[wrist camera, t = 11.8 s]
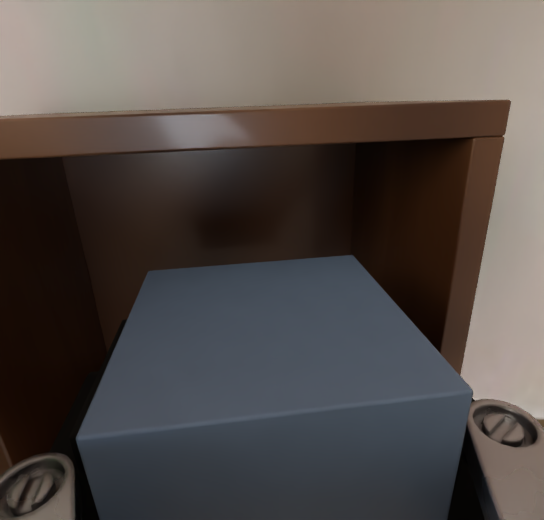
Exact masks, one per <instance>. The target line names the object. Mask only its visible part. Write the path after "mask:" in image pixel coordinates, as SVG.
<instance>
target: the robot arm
mask: <svg viewBox="0 0 544 520" xmlns="http://www.w3.org/2000/svg"><path fill="white" fill-rule="evenodd" d="M126 321H127V319H125V320H122V322H121V324H120V326H119V328H118V331H117V333H116V335H115V337H114V339H113V342H112V344H111V346H110V348H109V350H108V353H107V355H106V357H105V359H104V361H103V364H102V366H101V368H100V370H99V371H95V372H91V373H89V374H88V375H87V377H86V378H85V380H84V382H83V385H82V387H81V389H80V391H79V393H78V395H77V397H76V399H75V401H74V403H73V405H72V407H71V409H70V411H69V413H68V415H67V417H66V419H65V421H64V423H63V425H62V427H61V429H60V431H59V433H58V435H57V437H56V439H55V441H54V443H53V445H52V447H51V449H50V451H49V452H46V453H42V454H38V455H33V456H31V457H29V458H26V459H24V460H22V461H20V462H18V463H16V464H15V465H13V466H12V467H10V468H9V469H7V470H6V471H5V472H4V473H3V474H1V475H0V520H100V519H99V516H98V512H97V509H96V505H95V502H94V499H93V495H92V492H91V489H90V485H89V482H88V479H87V475H86V472H85V469H84V465H83V462H82V459H81V455H80V452H79V449H78V445H77V442H76V436H77V434H78V432H79V429H80V427H81V425H82V422H83V420H84V418H85V416H86V413H87V411H88V409H89V406H90V404H91V402H92V399H93V397H94V395H95V393H96V390H97V388H98V386H99V383H100V381H101V379H102V376H103V374H104V372H105V370H106V367H107V365H108V363H109V360H110V358H111V356H112V353H113V351H114V349H115V346H116V344H117V342H118V340H119V337H120V335H121V333H122V330H123V328H124V326H125V323H126ZM447 520H544V428H543V427H542V426H541V424H540V423H539V422H538V420H536V419H535V418H534V417H533V416H532V415H530V414H529V413H528V412H526V411H524V410H523V409H521V408H519V407H517V406H515V405H512V404H510V403H507V402H504V401H499V400H494V399H481V400H477V401H475V400H474V399H473V398H472V401H471V406H470V411H469V416H468V421H467V425H466V430H465V435H464V440H463V445H462V450H461V455H460V460H459V465H458V470H457V475H456V479H455V484H454V489H453V494H452V499H451V504H450V509H449V514H448V519H447Z"/></svg>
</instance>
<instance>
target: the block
mask: <svg viewBox="0 0 544 520" xmlns="http://www.w3.org/2000/svg"><path fill="white" fill-rule="evenodd" d="M472 396H473V391H472V389H471V388H470V386H469V385H468V384H467V383H466V382H465V381H464V380H463V379H462V377H461V376H460V375H459V374H458V373H457V372H456V371H455V370H454V368H453V367H452V366H451V365H450V364H449V363H448V362H447V361H446V359H445V358H444V357H443V356H442V355H441V354H440V353H439V352H438V350H437V349H436V348H435V347H434V346H433V345H432V344H431V343H430V341H429V340H428V339H427V338H426V337H425V336H424V335H423V334H422V332H421V331H420V330H419V329H418V328H417V327H416V326H415V325H414V323H413V322H412V321H411V320H410V319H409V318H408V317H407V315H406V314H405V313H404V312H403V311H402V310H401V309H400V308H399V306H398V305H397V304H396V303H395V302H394V301H393V300H392V299H391V297H390V296H389V295H388V294H387V293H386V292H385V291H384V290H383V288H382V287H381V286H380V285H379V284H378V283H377V282H376V281H375V279H374V278H373V277H372V276H371V275H370V274H369V273H368V272H367V270H366V269H365V268H364V267H363V266H362V265H361V264H360V263H359V261H358V260H357V259H356V258H355V257H354V256H353V255H345V256H333V257H320V258H307V259H294V260H282V261H269V262H256V263H243V264H231V265H218V266H205V267H192V268H180V269H167V270H154V271H148V273H147V275H146V277H145V280H144V282H143V284H142V287H141V289H140V291H139V294H138V296H137V298H136V300H135V303H134V305H133V307H132V310H131V312H130V314H129V317H128V319H127V321H126V323H125V326H124V328H123V330H122V333H121V335H120V337H119V340H118V342H117V344H116V346H115V349H114V351H113V353H112V356H111V358H110V360H109V363H108V365H107V367H106V370H105V372H104V374H103V376H102V379H101V381H100V383H99V386H98V388H97V390H96V393H95V395H94V397H93V399H92V402H91V404H90V406H89V409H88V411H87V413H86V416H85V418H84V420H83V422H82V425H81V427H80V429H79V432H78V434H77V436H76V442H77V445H78V449H79V452H80V455H81V459H82V462H83V465H84V469H85V472H86V475H87V479H88V482H89V485H90V489H91V492H92V495H93V499H94V502H95V505H96V509H97V512H98V516H99V519H100V520H447V519H448V514H449V509H450V504H451V499H452V494H453V489H454V484H455V479H456V475H457V470H458V465H459V460H460V455H461V450H462V445H463V440H464V435H465V430H466V425H467V421H468V416H469V411H470V406H471V401H472Z"/></svg>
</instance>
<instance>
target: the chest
mask: <svg viewBox="0 0 544 520" xmlns="http://www.w3.org/2000/svg"><path fill="white" fill-rule="evenodd" d="M510 104H511V101H510V100H457V101H396V102H353V103H326V104H299V105H272V106H244V107H217V108H190V109H163V110H136V111H108V112H81V113H54V114H31V115H12V116H0V475H1V474H3V473H4V472H5V471H6V470H7V469H9V468H10V467H12V466H13V465H15V464H16V463H18V462H20V461H22V460H24V459H26V458H29V457H31V456H33V455H38V454H42V453H46V452H49V451H50V449H51V447H52V445H53V443H54V441H55V439H56V437H57V435H58V433H59V431H60V429H61V427H62V425H63V423H64V421H65V419H66V417H67V415H68V413H69V411H70V409H71V407H72V405H73V403H74V401H75V399H76V397H77V395H78V393H79V391H80V389H81V387H82V385H83V382H84V380H85V378H86V377H87V375H88V374H89V373H91V372H95V371H99V370H100V368H101V366H102V364H103V361H104V359H105V357H106V355H107V353H108V350H109V348H110V346H111V344H112V342H113V339H114V337H115V335H116V333H117V331H118V328H119V326H120V324H121V322H122V320H125V319H128V317H129V314H130V312H131V310H132V307H133V305H134V303H135V300H136V298H137V296H138V294H139V291H140V289H141V287H142V284H143V282H144V280H145V277H146V275H147V273H148V271H154V270H167V269H180V268H192V267H205V266H218V265H231V264H243V263H256V262H269V261H282V260H294V259H307V258H320V257H333V256H345V255H353V256H354V257H355V258H356V259H357V260H358V261H359V263H360V264H361V265H362V266H363V267H364V268H365V269H366V270H367V272H368V273H369V274H370V275H371V276H372V277H373V278H374V279H375V281H376V282H377V283H378V284H379V285H380V286H381V287H382V288H383V290H384V291H385V292H386V293H387V294H388V295H389V296H390V297H391V299H392V300H393V301H394V302H395V303H396V304H397V305H398V306H399V308H400V309H401V310H402V311H403V312H404V313H405V314H406V315H407V317H408V318H409V319H410V320H411V321H412V322H413V323H414V325H415V326H416V327H417V328H418V329H419V330H420V331H421V332H422V334H423V335H424V336H425V337H426V338H427V339H428V340H429V341H430V343H431V344H432V345H433V346H434V347H435V348H436V349H437V350H438V352H439V353H440V354H441V355H442V356H443V357H444V358H445V359H446V361H447V362H448V363H449V364H450V365H451V366H452V367H453V368H454V370H455V371H456V372H457V373H458V374H459V375H460V374H461V368H462V363H463V358H464V352H465V347H466V342H467V336H468V331H469V326H470V320H471V315H472V309H473V304H474V299H475V293H476V288H477V283H478V277H479V272H480V266H481V261H482V256H483V250H484V245H485V240H486V234H487V229H488V223H489V218H490V213H491V207H492V202H493V197H494V191H495V186H496V180H497V175H498V170H499V164H500V159H501V154H502V148H503V143H504V137H503V135H504V134H505V131H506V126H507V121H508V115H509V110H510Z"/></svg>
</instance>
